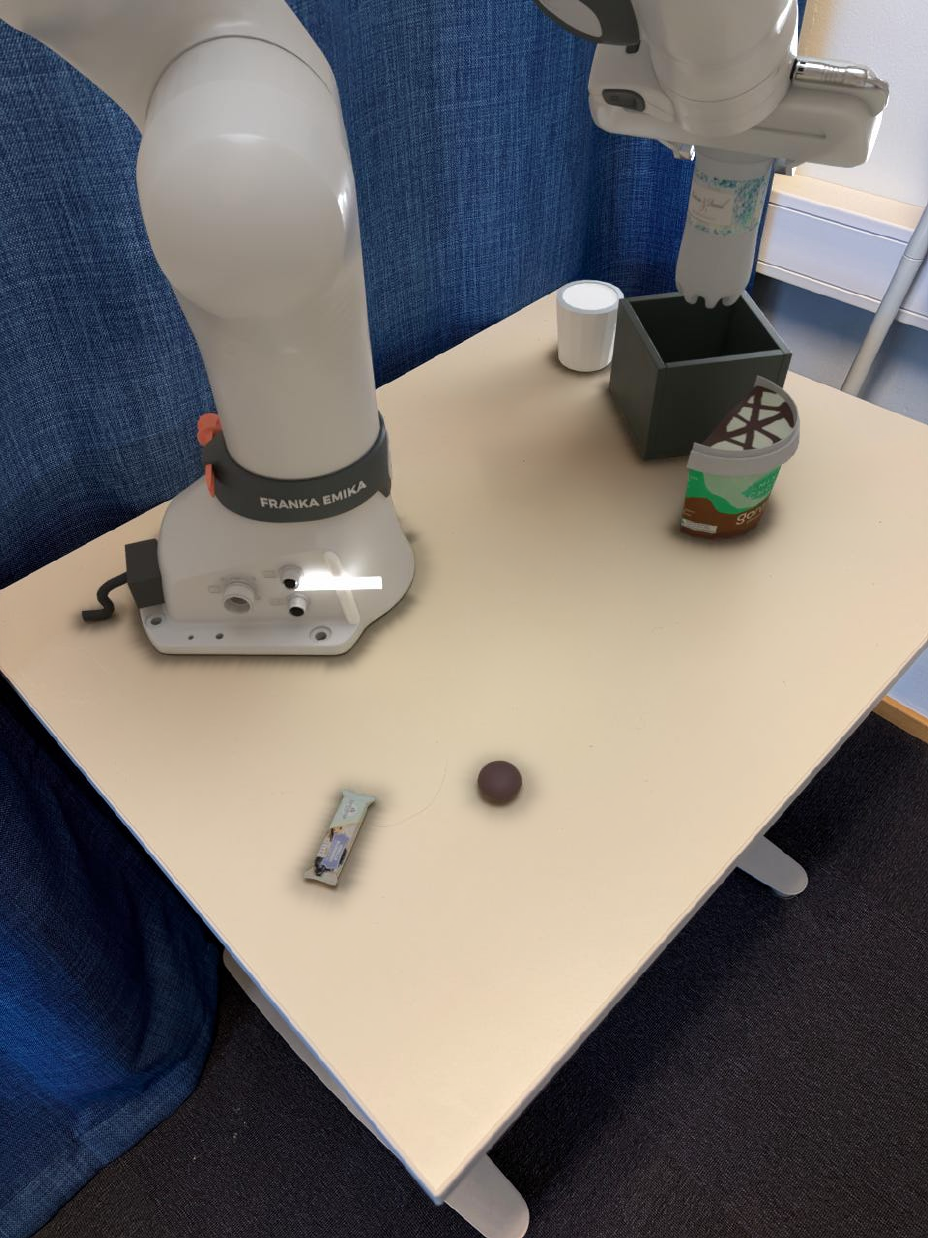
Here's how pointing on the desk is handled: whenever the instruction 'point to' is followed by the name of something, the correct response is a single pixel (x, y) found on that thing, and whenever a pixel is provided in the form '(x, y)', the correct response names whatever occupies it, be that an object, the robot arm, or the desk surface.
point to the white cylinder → (586, 324)
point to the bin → (688, 366)
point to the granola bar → (340, 837)
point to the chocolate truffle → (499, 780)
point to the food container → (740, 464)
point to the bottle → (721, 224)
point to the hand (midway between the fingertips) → (735, 157)
